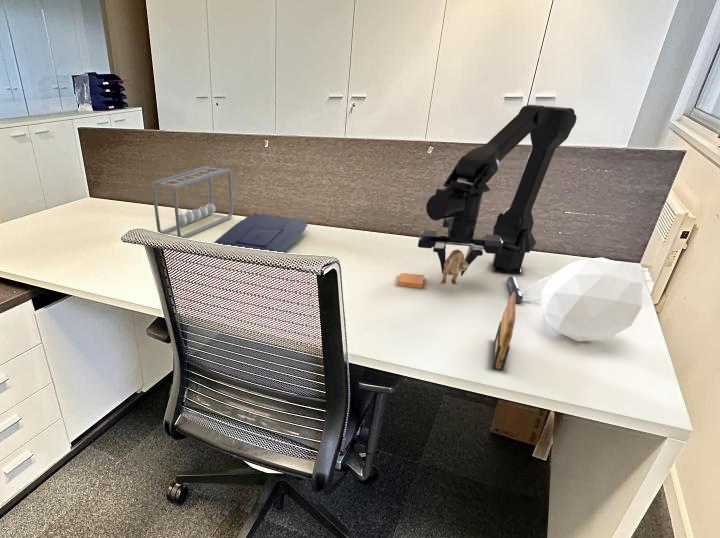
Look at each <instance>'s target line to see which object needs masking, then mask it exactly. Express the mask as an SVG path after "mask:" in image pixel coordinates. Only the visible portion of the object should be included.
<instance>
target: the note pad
mask: <svg viewBox="0 0 720 538" xmlns="http://www.w3.org/2000/svg"><path fill="white" fill-rule="evenodd" d="M399 273H400V274H399V277H398V282H397V286H398V287H399V286H400V287H408V288H417V289H423V286H424V279H425V278H424V277H425V275H424V274H418V273H408V272H399Z"/></svg>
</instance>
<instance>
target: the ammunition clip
mask: <svg viewBox="0 0 720 538" xmlns="http://www.w3.org/2000/svg"><path fill="white" fill-rule="evenodd" d="M515 322H516V303H515V293H513V294H512V295H511V294H510V297H509V299H508V301H507V304H506V307H505V309H504V311H503V314H502V317H501V319H500V321H499V324H498V327H497V330H496V334H495V337H494V341H493V349H492V350H493V351H492V362H491V363H492V365H491V369H492V370H497V371H504V368H505V364H506V361H507V358H508V354H509V351H510V349H511V348H510V347H511V345H510V344H511V340H512V338H513V331H514V326H515V324H516V323H515Z"/></svg>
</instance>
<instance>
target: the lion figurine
mask: <svg viewBox="0 0 720 538" xmlns="http://www.w3.org/2000/svg"><path fill="white" fill-rule="evenodd" d="M468 266H469V267H470V265H469V264H468V263H467V262H466V259H465V253H463V251H461V250H460V249H459V248H458V249H457V248H456V249H454V250H452V251H450V254H449V256H448V257H447V258H445V262H444V271H443V274H442V279H441V281H440V284H441V285H446V283H447V276H450V277H452V278H451V279H450V280H451V281H450V283H451V285H453V286H456V285H457V284H458V282H457V278H458V276H459V273H461V270H463V271H465V269H466V268H467V267H468ZM469 267H468V268H469ZM468 268H467V269H468ZM465 272H466V271H465Z"/></svg>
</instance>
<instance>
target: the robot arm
mask: <svg viewBox="0 0 720 538" xmlns="http://www.w3.org/2000/svg"><path fill="white" fill-rule="evenodd" d="M576 123H577V115H576V113H575V110H574V108H572V107H562V106H550V105H541V104H540V105H539V104H526V105H524V106H522V107H521V108H520V109H519V112H518V113H517V114H516V115H515V116H514V117H513V118H512V119H511V120H510V121H508V123H507V124H506V125H505V126H503V128H502V129H500V130H499V131H498V132H497V133H496V134H495V135H494V136H492V138H491V139H490V140H488V141H487V142H486V143H485V144H484V145H482V146H479V147H476V148H473V149H471V150H470V151H469V152H467V153H465V154H464V155H462V156H461V158H460V159H459V160H458V161H457V163H456V164H455V166H454V168H453V169H452V171H451V173H450V174H449V175H448V177H447V178H446V180H445V182H444V183H443V188H442V187H439V188H437V189H436V190H435V194H432V195H431V196H429V198H428V200H427V202H426V205H425V207H426V208H425V209H426V214H427V216H428V218H430V219H431V220H432V221H441V220H442V226H441V228H442V229H447V235H437V234H438V231H437V230H429V229H422V230H421V231H420V232H419V236H418V242H417V247H418V248H421V249H432V252H433V253H437V256H438V259H439V264H440V269H441V274H442V275H443V271H444V262H445V260H446V257H447V255H446V254H447V245H449V246H451V245H452V246H463V247H468V248H467V251H466V255H465V257H464V259H466V262H467V263H468V264H469V266H468V267H467V268H466V269H465V271H463V270H461V271H460V277H462V276H464V274H465V273H466V271H467V269H468V268H469V267H470V265H471V264H472V263H473V262H474V261H475V260H476V259H477V258H478V257H481V256H483V255H484V253H486V254H491V255H492V254H493V258H492V262H491V266H492V268H493V272H496V273H507V274H516V275H521V274H522V270H521V269H522V265H523V262H524V258H525V255H526V253H528V254H529V253H530V252H531V251H533V249H534V248H535V246H536V243H537V241H536V239H535V238H534V235H533V232H532V231H533V227H534V218H533V213H532V210H533V209H534V208H533V207H534V205H535V202H536V200H537V198H538V195H539V192H540V190H541V187H542V184H543V183H544V179H545V177H546V174H547V171H548V169H549V167H550V164H551V161H552V159H553V156H554V153H555V151H556V150H557V148H559V147H560V146H561V145H562V144H563V143H565V141H566V140H567V139H568V138H569V136H570V134H571V132H572V130H573V128H574V127H575V125H576ZM527 136H529V138H530V142H531V150H530V152H529V155H528V157H527V160H526V164H525V166H524V168H523V171H522V173H521V177H520V180H519V182H518V184H517V188H516V191H515V193H514V196H513V198H512V201H511V204H510V206H509V208H507V209H506V210H505V211H504V212H503V213H502V212H500V213H499V214H498V215H497V218H496V221H495V223H494V226H493V227H492V229H493V230H492V231H493V232H492V234H484V235H483V237H482V238H475V237H474V234H475V230H476V227H477V223H478V218H479V217H478V216H479V212H480V209H481V204H482V200H483V197H484V196H483V195H484V193H488V192H490V190H491V188H490V187H489V186H488V185H487V183H488V182H489V181H490V180H491V179H492V178H493V176H495V175H496V173H497V172H498V171H499V167H500V162H501V161H503V159H504V158H505V157H506V156H507V155H508V154H509V153H510V152H511V151H512V150H514V148H515V147H517V146H518V145H519V144H520V143H521V142H523V140H524V139H526V137H527Z"/></svg>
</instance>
